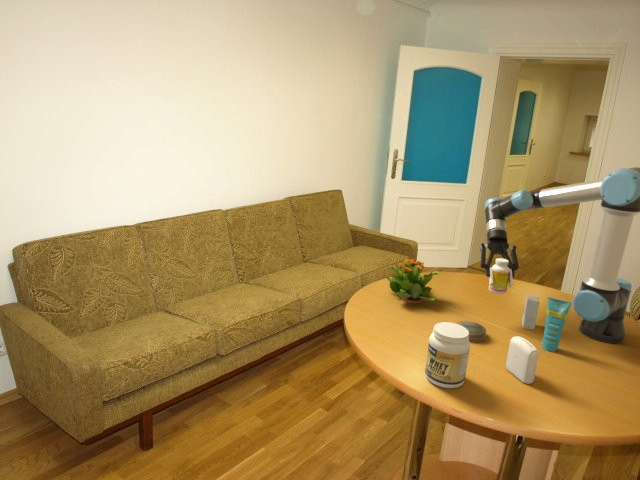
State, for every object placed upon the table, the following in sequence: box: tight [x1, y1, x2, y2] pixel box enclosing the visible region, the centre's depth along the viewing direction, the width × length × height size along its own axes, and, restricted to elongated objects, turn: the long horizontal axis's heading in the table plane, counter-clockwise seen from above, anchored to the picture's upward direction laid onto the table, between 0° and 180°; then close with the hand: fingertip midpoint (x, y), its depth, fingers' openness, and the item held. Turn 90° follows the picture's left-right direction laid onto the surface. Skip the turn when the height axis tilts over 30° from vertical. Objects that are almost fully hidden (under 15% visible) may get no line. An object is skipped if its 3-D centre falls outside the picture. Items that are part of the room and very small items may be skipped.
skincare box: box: [521, 294, 540, 331], centre depth 182 cm, size 6×4×12 cm
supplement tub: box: [424, 321, 471, 389], centre depth 142 cm, size 12×12×17 cm
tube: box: [541, 296, 573, 353], centre depth 163 cm, size 7×5×19 cm, turn 60°
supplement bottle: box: [488, 257, 510, 295], centre depth 180 cm, size 7×7×13 cm
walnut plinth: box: [455, 320, 487, 343], centre depth 173 cm, size 11×11×3 cm
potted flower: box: [384, 258, 441, 304], centre depth 201 cm, size 25×24×18 cm
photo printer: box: [505, 335, 539, 385], centre depth 146 cm, size 10×4×12 cm, turn 15°
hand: (501, 284), depth 177 cm, fingers closed on supplement bottle, 7 cm apart
